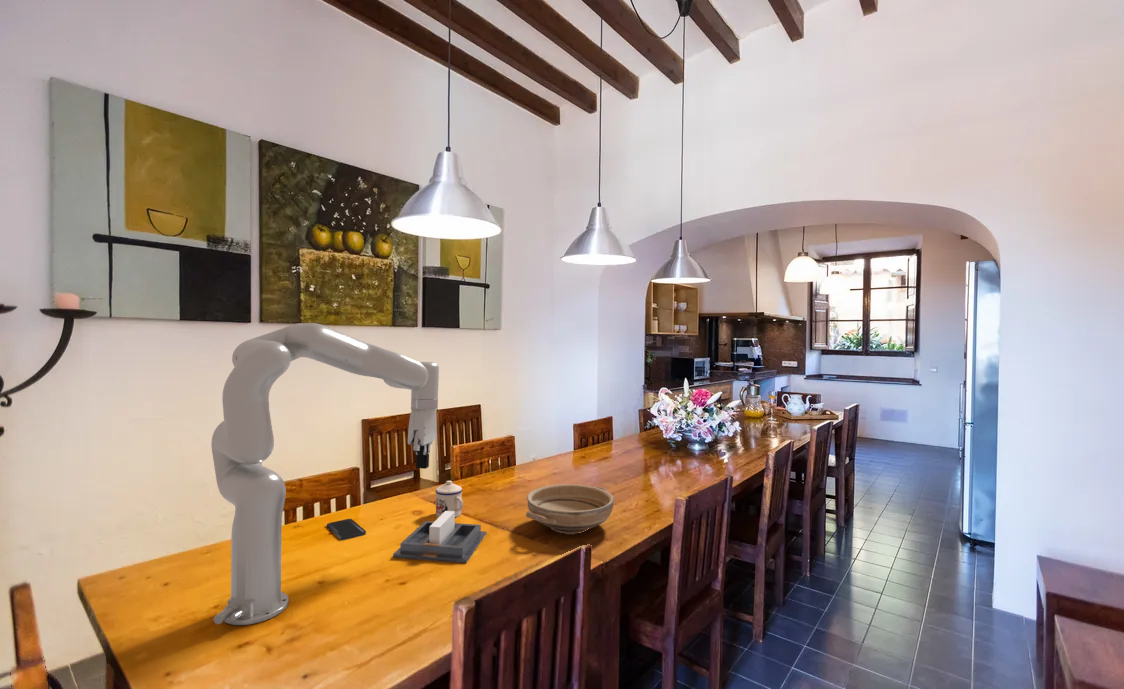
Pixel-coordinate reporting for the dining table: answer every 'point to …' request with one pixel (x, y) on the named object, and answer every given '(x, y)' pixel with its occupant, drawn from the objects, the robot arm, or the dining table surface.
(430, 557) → the rack
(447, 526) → the panel
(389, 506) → the dining table surface
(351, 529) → the phone
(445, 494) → the teacup with lid
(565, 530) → the ceramic bowl
